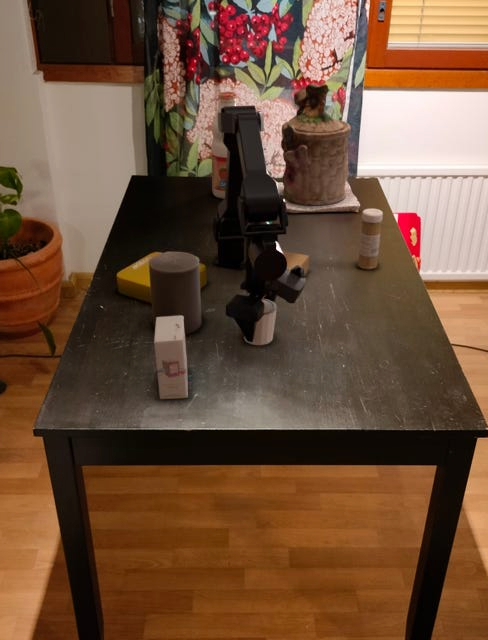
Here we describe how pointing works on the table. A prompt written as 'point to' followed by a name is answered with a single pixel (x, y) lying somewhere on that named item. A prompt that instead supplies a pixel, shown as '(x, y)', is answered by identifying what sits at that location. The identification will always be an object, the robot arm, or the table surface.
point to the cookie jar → (315, 157)
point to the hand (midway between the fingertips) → (258, 330)
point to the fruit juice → (220, 148)
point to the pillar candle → (176, 288)
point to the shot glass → (265, 324)
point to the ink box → (171, 357)
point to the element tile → (144, 279)
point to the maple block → (296, 260)
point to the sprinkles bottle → (370, 238)
